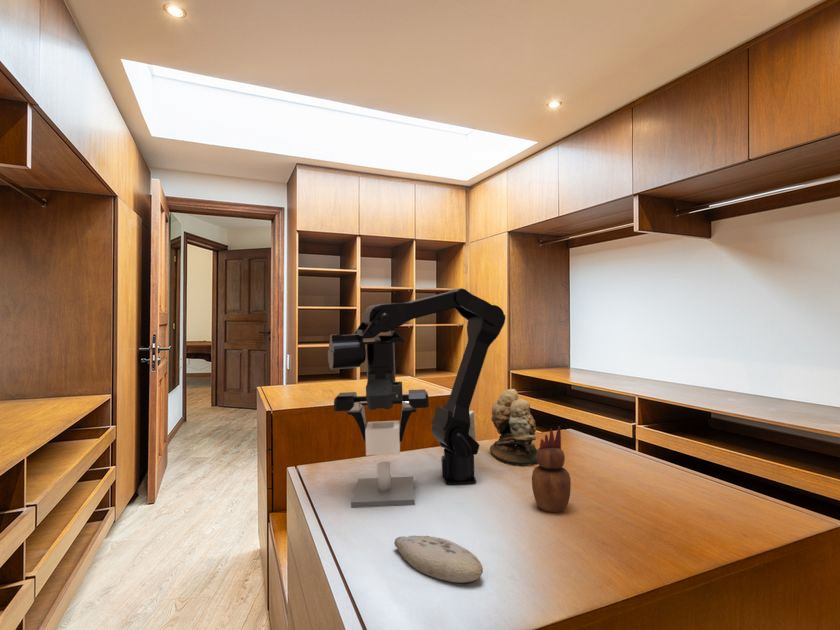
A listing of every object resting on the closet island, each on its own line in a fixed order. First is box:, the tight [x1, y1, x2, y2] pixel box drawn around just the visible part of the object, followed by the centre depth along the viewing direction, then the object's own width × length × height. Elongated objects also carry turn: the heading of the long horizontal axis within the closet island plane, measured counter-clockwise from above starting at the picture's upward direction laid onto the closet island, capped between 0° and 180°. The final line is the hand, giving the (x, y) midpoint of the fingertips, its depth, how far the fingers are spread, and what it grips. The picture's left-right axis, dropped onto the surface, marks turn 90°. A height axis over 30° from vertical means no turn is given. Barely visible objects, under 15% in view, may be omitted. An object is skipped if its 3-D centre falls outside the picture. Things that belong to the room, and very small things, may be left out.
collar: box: [365, 420, 401, 457], centre depth 89 cm, size 7×7×5 cm
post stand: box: [350, 461, 416, 509], centre depth 89 cm, size 12×12×6 cm
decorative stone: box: [393, 535, 484, 584], centre depth 62 cm, size 6×16×3 cm, turn 52°
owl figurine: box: [489, 388, 539, 467], centre depth 110 cm, size 18×12×17 cm, turn 12°
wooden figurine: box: [531, 425, 572, 513], centre depth 80 cm, size 7×6×15 cm
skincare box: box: [469, 410, 476, 441], centre depth 115 cm, size 5×4×10 cm
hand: (383, 442), depth 89 cm, fingers closed on collar, 7 cm apart
